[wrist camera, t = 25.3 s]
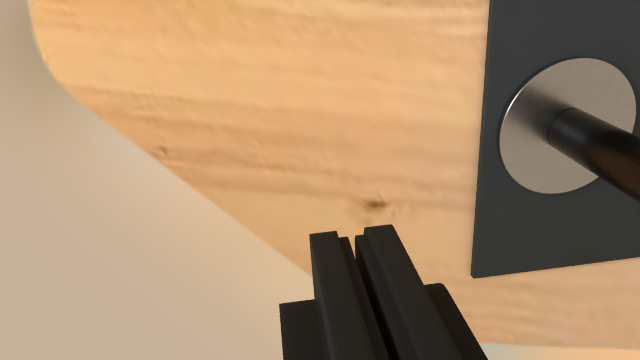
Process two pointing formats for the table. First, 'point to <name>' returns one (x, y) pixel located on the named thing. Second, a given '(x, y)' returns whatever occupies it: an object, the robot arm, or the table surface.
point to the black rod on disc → (571, 128)
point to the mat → (541, 208)
